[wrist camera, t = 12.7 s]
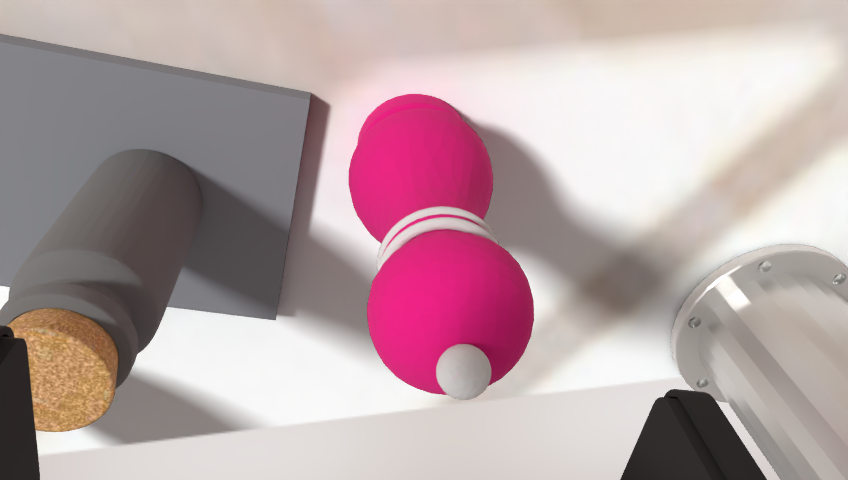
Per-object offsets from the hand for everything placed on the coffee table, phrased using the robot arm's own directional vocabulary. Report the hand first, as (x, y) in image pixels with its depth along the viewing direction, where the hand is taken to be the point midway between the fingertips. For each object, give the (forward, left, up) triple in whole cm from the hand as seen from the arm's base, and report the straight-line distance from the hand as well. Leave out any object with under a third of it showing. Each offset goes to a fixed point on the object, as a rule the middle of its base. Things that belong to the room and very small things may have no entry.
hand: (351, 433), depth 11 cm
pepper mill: (-5, +6, -29) cm, 30 cm away
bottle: (+9, +11, -28) cm, 31 cm away
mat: (+9, +11, -29) cm, 32 cm away
